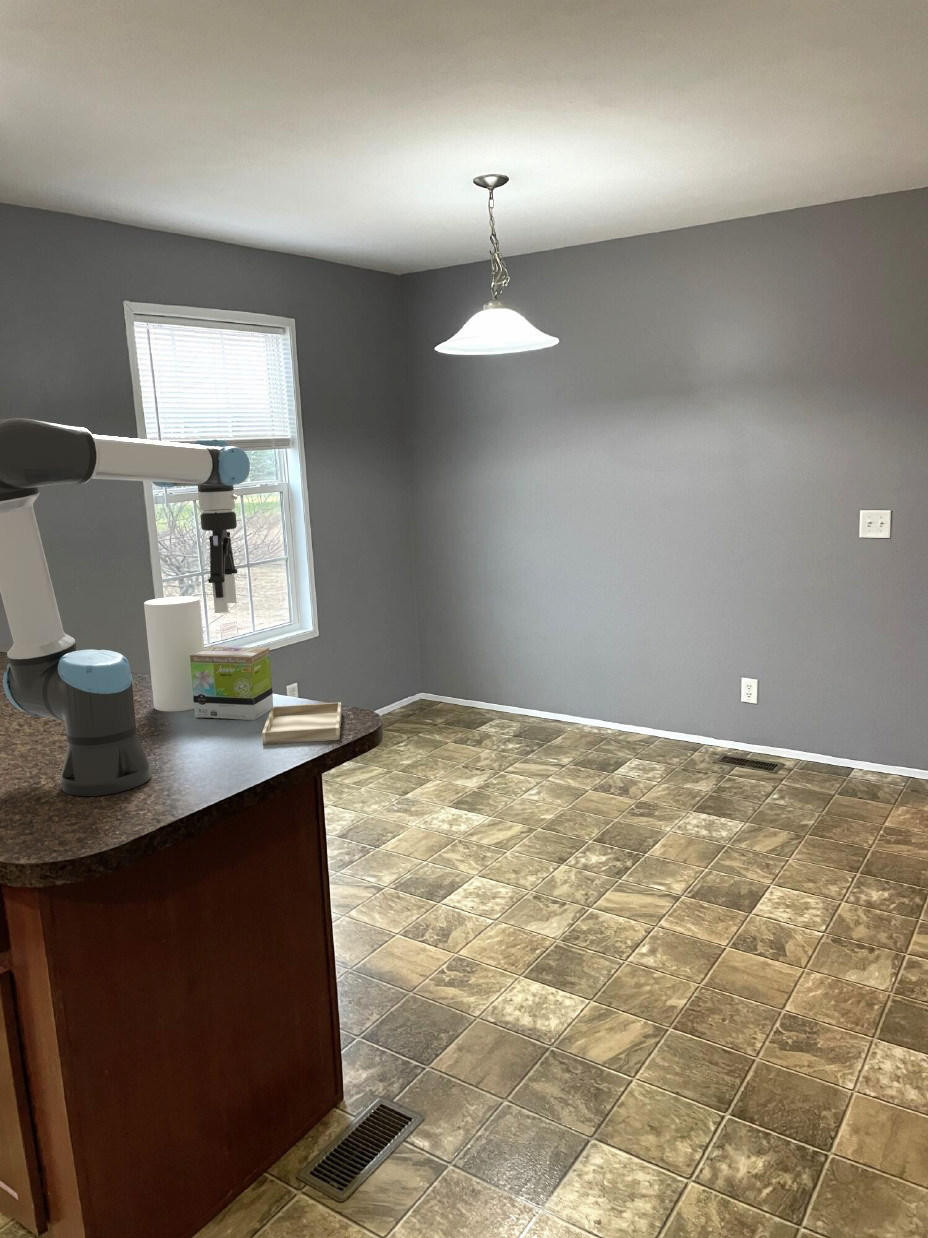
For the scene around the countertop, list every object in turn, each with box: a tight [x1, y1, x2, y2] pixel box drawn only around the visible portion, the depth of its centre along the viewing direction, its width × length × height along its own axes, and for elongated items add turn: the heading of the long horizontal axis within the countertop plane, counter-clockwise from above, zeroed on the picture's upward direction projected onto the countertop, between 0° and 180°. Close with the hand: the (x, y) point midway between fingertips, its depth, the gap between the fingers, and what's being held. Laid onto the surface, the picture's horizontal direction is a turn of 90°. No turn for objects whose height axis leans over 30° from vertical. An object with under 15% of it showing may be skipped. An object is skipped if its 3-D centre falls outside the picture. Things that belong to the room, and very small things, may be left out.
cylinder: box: [143, 595, 205, 712], centre depth 219 cm, size 12×12×25 cm
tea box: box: [190, 645, 274, 722], centre depth 209 cm, size 15×10×15 cm
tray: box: [261, 701, 343, 746], centre depth 197 cm, size 20×15×2 cm
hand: (226, 607), depth 206 cm, fingers open, 13 cm apart
